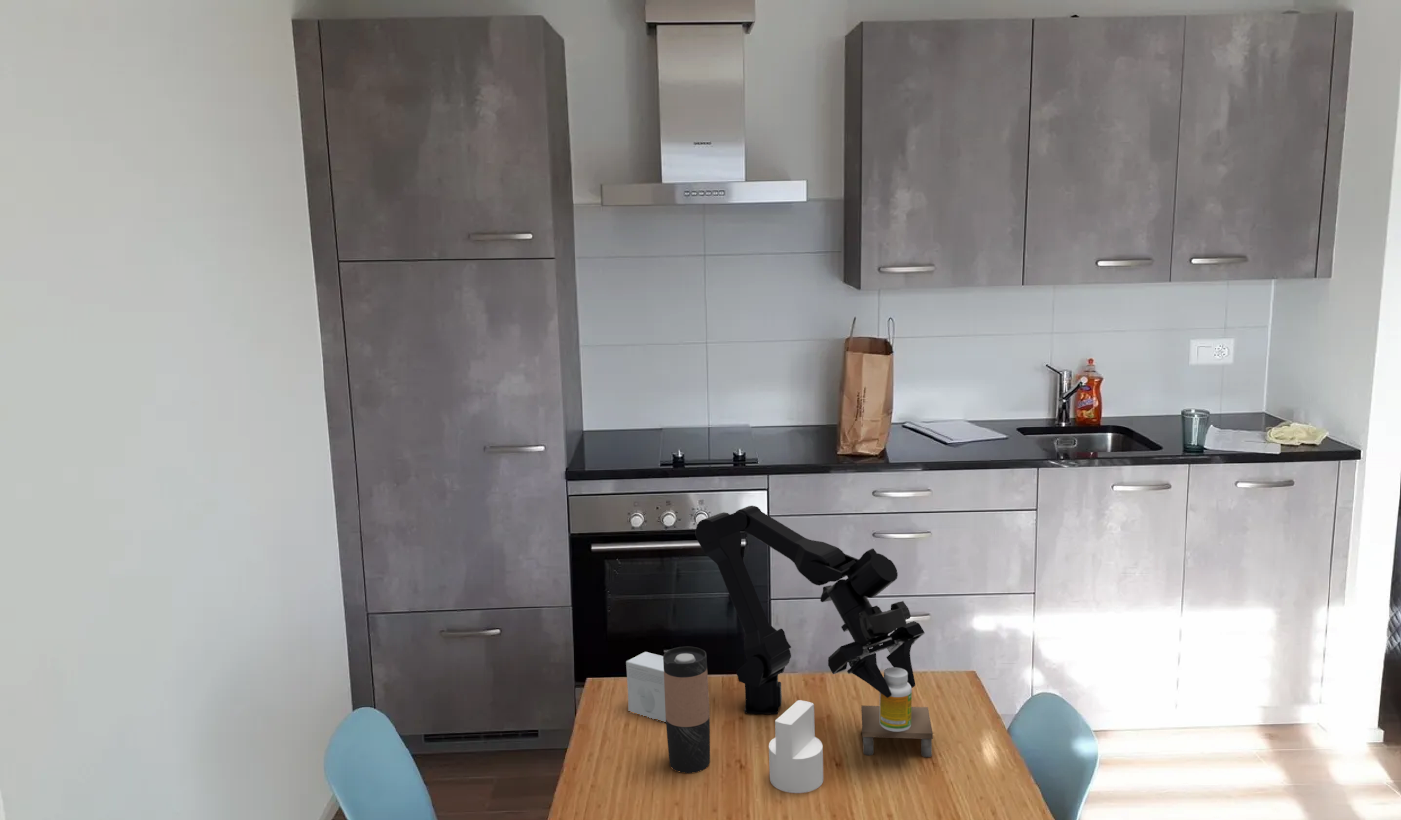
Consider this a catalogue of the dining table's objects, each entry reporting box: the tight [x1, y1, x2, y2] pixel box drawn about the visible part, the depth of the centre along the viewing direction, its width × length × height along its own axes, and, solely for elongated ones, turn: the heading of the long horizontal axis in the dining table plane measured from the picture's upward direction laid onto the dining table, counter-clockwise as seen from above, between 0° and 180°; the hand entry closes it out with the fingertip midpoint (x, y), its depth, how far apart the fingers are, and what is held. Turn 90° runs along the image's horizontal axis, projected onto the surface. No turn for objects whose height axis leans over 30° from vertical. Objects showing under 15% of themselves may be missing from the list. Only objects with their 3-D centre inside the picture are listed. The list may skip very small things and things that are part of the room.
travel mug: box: [662, 646, 711, 774], centre depth 175 cm, size 8×8×20 cm
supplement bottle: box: [879, 666, 913, 732], centre depth 173 cm, size 5×5×10 cm
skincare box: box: [625, 651, 666, 723], centre depth 196 cm, size 10×6×10 cm, turn 54°
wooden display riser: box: [861, 705, 934, 758], centre depth 180 cm, size 12×10×4 cm
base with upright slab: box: [768, 699, 824, 794], centre depth 169 cm, size 9×9×12 cm
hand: (901, 691), depth 171 cm, fingers closed on supplement bottle, 5 cm apart
